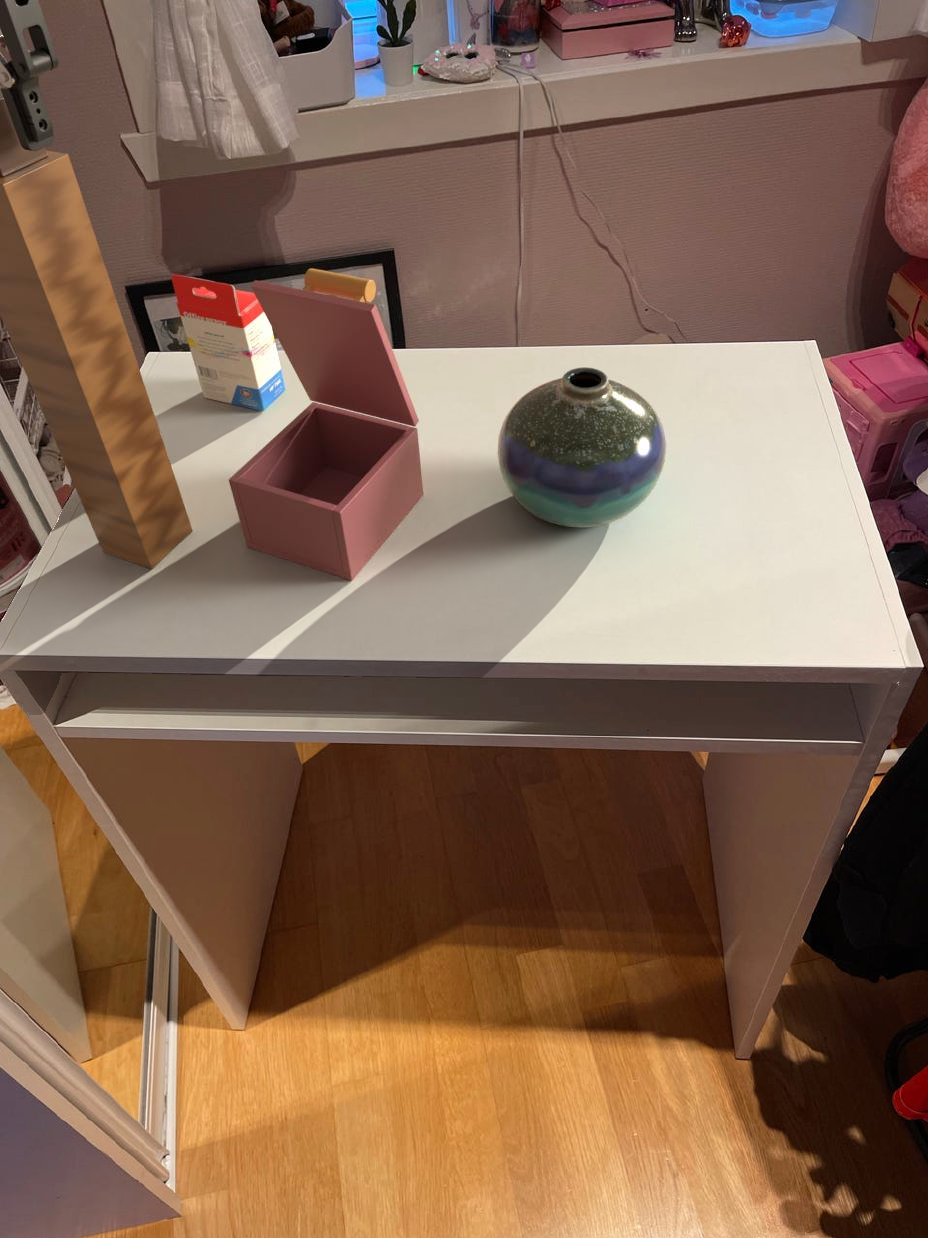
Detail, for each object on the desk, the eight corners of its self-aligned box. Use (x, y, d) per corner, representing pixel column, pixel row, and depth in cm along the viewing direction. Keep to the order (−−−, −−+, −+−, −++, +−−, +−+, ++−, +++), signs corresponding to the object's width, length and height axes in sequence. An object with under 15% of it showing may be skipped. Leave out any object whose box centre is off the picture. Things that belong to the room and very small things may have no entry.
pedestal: (152, 569, 83) (2, 184, 59) (102, 552, 85) (-62, 172, 61) (193, 530, 87) (68, 153, 63) (144, 515, 89) (5, 143, 65)
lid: (371, 311, 71) (397, 267, 72) (250, 286, 74) (277, 245, 76) (415, 427, 83) (437, 387, 85) (310, 400, 87) (332, 362, 89)
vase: (467, 516, 87) (461, 394, 77) (550, 437, 95) (554, 319, 86) (609, 575, 80) (622, 449, 71) (685, 484, 89) (705, 362, 79)
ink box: (287, 391, 104) (261, 266, 93) (263, 413, 101) (234, 287, 90) (226, 377, 107) (195, 254, 96) (201, 398, 104) (166, 274, 93)
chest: (352, 581, 81) (340, 512, 75) (246, 546, 85) (228, 479, 79) (423, 495, 89) (417, 427, 84) (324, 467, 93) (312, 401, 88)
